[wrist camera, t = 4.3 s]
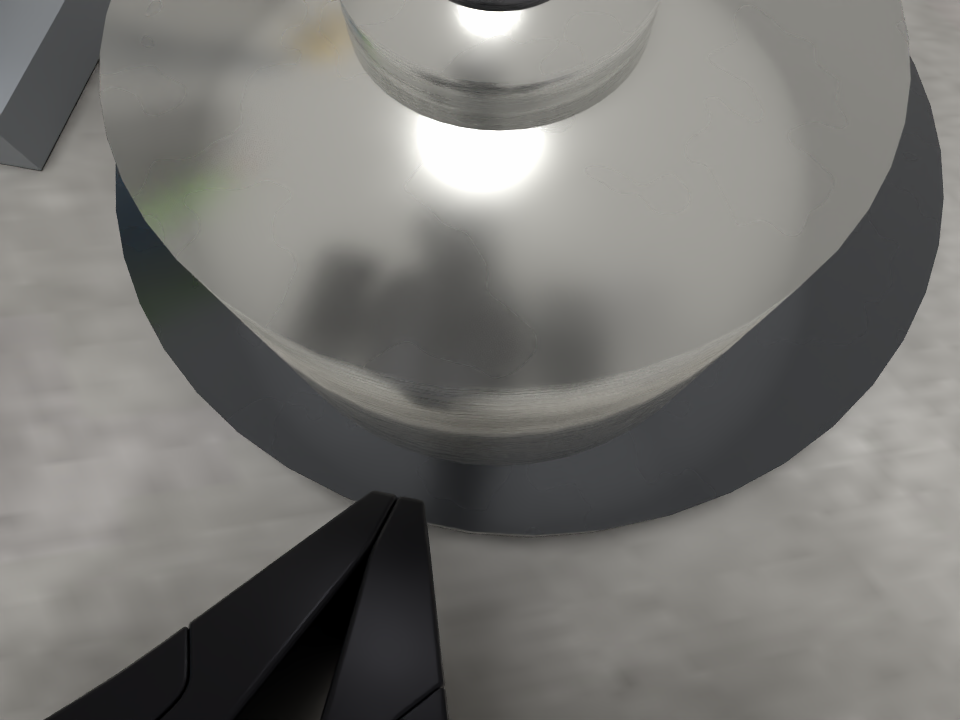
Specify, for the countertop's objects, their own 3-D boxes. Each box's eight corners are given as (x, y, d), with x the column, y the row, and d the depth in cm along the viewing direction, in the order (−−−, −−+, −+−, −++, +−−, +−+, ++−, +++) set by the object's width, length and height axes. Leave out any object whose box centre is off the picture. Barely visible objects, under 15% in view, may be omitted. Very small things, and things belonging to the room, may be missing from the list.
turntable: (1067, 269, 18) (1152, 227, 15) (356, 727, 14) (330, 759, 12) (614, -176, 25) (626, -251, 22) (56, 61, 21) (3, 1, 19)
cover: (836, 304, 15) (1184, 50, 8) (398, 571, 14) (273, 591, 6) (565, -12, 19) (615, -400, 11) (190, 162, 17) (-56, -160, 9)
